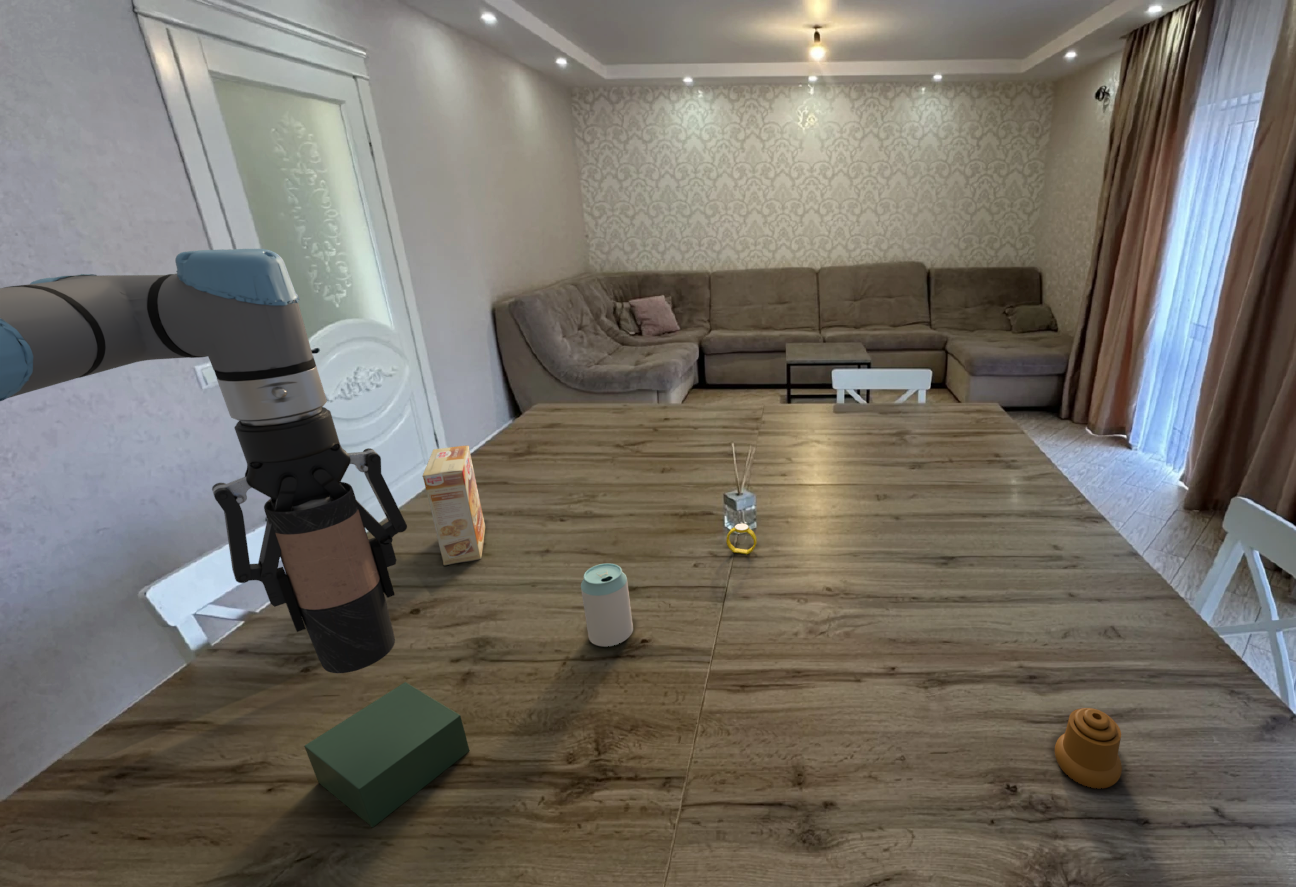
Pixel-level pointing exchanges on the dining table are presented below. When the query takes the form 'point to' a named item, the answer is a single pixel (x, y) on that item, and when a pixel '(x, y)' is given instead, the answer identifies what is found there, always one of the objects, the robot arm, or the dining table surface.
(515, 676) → the dining table surface
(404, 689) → the green block
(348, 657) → the travel mug
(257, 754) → the dining table surface
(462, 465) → the coffeecake box
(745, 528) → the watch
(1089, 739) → the ornamental finial
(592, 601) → the can
